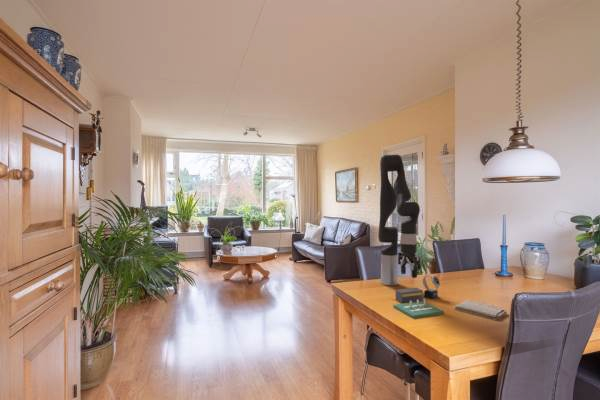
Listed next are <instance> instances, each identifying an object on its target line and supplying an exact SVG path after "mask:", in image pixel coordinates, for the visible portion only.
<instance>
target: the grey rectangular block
mask: <svg viewBox="0 0 600 400" xmlns="http://www.w3.org/2000/svg"><path fill="white" fill-rule="evenodd" d="M423 295H424V290H422V289H421V288H419V287H410V288H402V289H395V301H397V302H399V304H404V303H410V301H412V302H417V300H419V301H423V302H424V296H423Z"/></svg>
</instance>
